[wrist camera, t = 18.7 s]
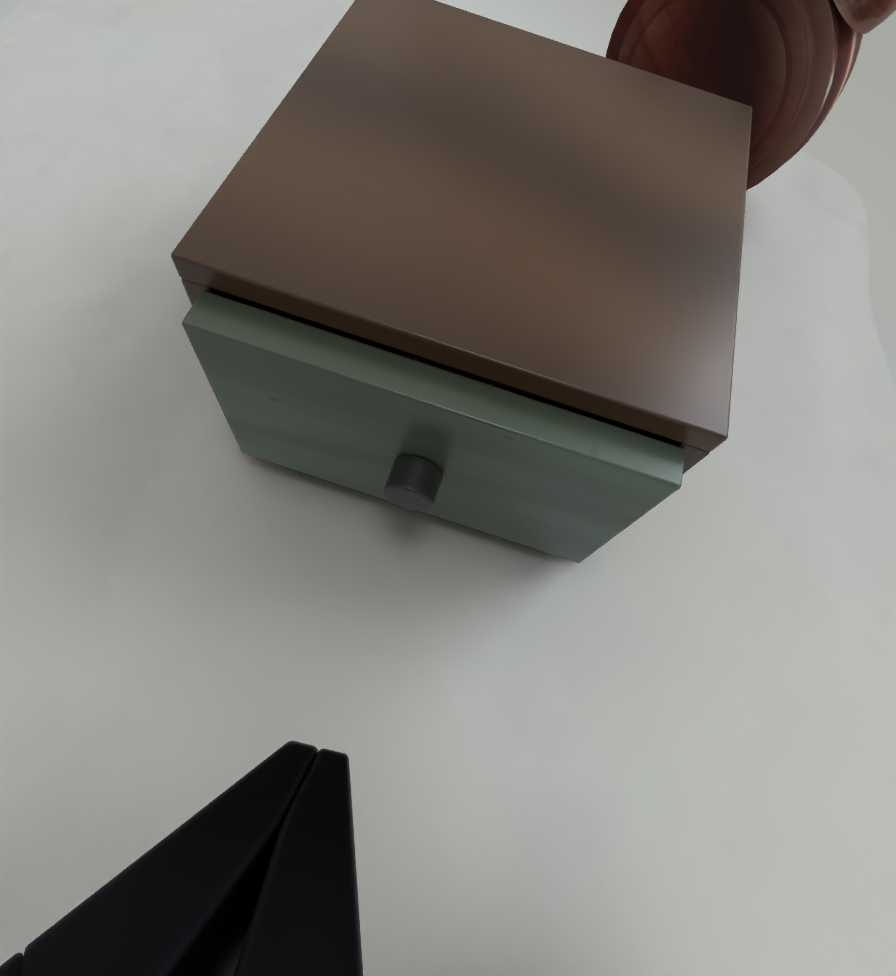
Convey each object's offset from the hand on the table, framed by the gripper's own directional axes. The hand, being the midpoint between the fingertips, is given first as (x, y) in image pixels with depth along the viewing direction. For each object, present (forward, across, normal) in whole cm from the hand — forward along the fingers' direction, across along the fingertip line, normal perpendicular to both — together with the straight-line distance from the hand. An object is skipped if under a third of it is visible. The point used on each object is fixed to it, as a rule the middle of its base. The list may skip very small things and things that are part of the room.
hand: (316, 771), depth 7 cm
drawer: (+17, 0, -4) cm, 18 cm away
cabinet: (+19, 0, -5) cm, 20 cm away
